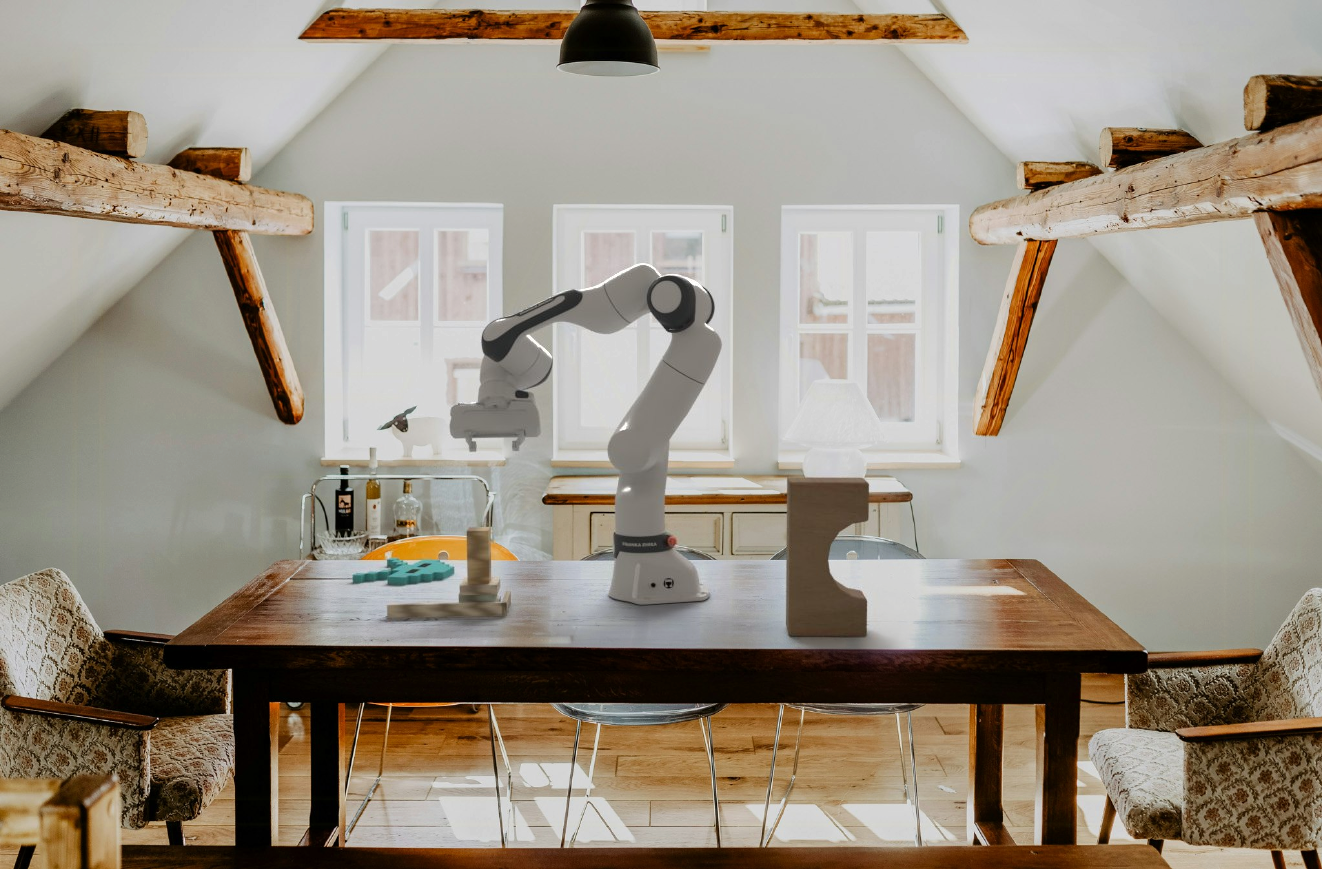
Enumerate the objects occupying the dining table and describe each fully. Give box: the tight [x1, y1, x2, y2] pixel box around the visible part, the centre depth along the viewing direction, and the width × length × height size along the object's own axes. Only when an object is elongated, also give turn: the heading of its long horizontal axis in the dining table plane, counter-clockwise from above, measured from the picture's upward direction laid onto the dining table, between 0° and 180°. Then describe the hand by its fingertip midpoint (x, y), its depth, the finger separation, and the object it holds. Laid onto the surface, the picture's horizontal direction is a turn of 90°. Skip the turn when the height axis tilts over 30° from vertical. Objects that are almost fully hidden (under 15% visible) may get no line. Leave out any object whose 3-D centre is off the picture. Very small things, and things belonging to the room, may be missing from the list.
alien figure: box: [352, 557, 455, 586], centre depth 254 cm, size 20×2×20 cm
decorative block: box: [785, 476, 870, 638], centre depth 203 cm, size 15×8×30 cm, turn 87°
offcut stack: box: [458, 576, 502, 603], centre depth 217 cm, size 8×7×6 cm
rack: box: [386, 590, 512, 619], centre depth 216 cm, size 24×10×4 cm, turn 93°
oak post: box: [466, 526, 492, 584], centre depth 216 cm, size 4×4×11 cm
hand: (494, 449), depth 230 cm, fingers open, 8 cm apart
